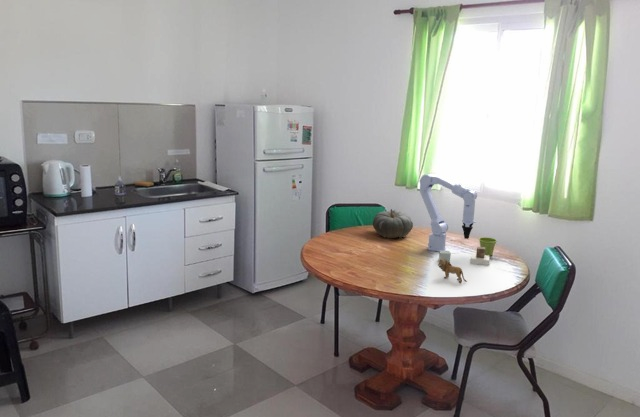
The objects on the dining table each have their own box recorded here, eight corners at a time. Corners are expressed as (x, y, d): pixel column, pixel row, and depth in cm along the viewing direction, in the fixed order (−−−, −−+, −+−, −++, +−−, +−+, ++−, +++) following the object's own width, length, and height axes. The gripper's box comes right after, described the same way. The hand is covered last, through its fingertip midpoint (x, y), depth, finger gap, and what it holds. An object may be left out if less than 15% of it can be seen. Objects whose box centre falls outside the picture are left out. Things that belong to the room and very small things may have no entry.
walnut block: (476, 257, 261) (476, 248, 260) (476, 255, 264) (477, 246, 263) (484, 258, 259) (484, 249, 258) (484, 256, 263) (485, 247, 262)
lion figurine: (435, 277, 237) (436, 259, 235) (439, 274, 242) (441, 256, 240) (464, 284, 229) (466, 265, 227) (469, 281, 233) (470, 263, 231)
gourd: (399, 224, 327) (400, 200, 320) (420, 240, 306) (422, 214, 299) (366, 231, 318) (366, 207, 311) (385, 248, 297) (386, 222, 290)
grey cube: (440, 262, 260) (441, 253, 259) (438, 259, 265) (439, 250, 264) (450, 262, 260) (450, 253, 258) (448, 259, 264) (448, 250, 263)
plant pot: (496, 257, 269) (498, 242, 267) (478, 256, 270) (479, 241, 269) (494, 252, 278) (495, 238, 276) (476, 251, 279) (478, 236, 278)
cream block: (470, 263, 259) (471, 258, 259) (471, 259, 268) (471, 253, 267) (488, 265, 257) (489, 260, 256) (488, 260, 265) (489, 255, 264)
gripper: (476, 216, 260) (473, 240, 263) (476, 210, 273) (474, 234, 276) (462, 214, 262) (460, 239, 265) (463, 209, 275) (461, 233, 278)
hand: (466, 236), depth 271 cm, fingers open, 7 cm apart
